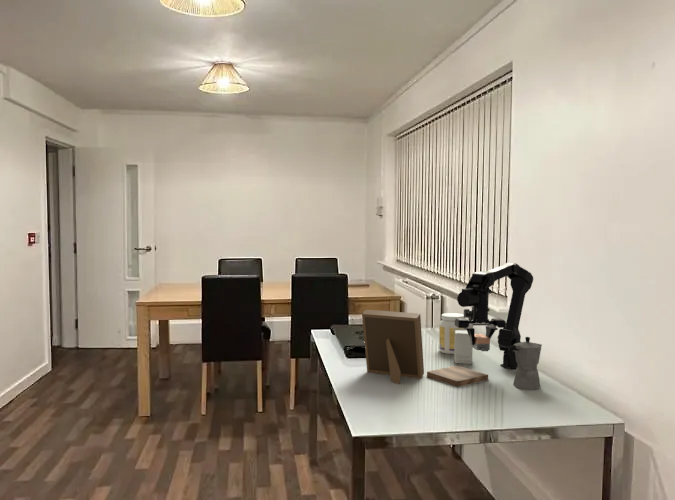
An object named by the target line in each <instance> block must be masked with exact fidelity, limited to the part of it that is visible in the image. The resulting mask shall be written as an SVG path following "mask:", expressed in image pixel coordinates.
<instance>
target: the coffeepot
mask: <svg viewBox="0 0 675 500" xmlns="http://www.w3.org/2000/svg"><path fill="white" fill-rule="evenodd" d="M542 346H543V344H541V343H536V342H531V337H529V336H526V337H525V341H521V342H520V343H516V344H514V345H512V346H510V348H509V349H508V354H509V358H510V362H511V365H512V368H515V373H514V374H515V375H514V379H513V386H514V387H515V388H516V389H520V390H525V391H535V390H539V389H540V388H541V381H540V376H539V370H538V365H539V362H540V357H541V351H542ZM513 350H515V356H516V362H517V363H518V367H517V365H515V364H514V358H513Z"/></svg>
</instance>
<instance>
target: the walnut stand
mask: <svg viewBox="0 0 675 500" xmlns="http://www.w3.org/2000/svg"><path fill="white" fill-rule="evenodd" d="M426 378H430V379H432V380H436V381H439V382H442V383H445V384H447V385H451V386H454V387H457V388H458V387H463V386H469V385H472V384H477V383H481V382H485V381H489V374H488V373H484V372H481V371H478V370H477V371H476V370H475V369H474V370H473V369H470V368H467V367H463V366H460V365H453V366H449V367H442V368H439V369H433V370H428V371H426Z"/></svg>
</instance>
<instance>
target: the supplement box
mask: <svg viewBox="0 0 675 500" xmlns="http://www.w3.org/2000/svg"><path fill="white" fill-rule="evenodd" d="M473 349H474V348H473V347H471V346H470V337H469V334H468V332H467V331H462V330H455V351H454V354H453V358H454V363H455V364H466V365H467V364H468V365H469V364H470V365H471V364H473Z"/></svg>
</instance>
